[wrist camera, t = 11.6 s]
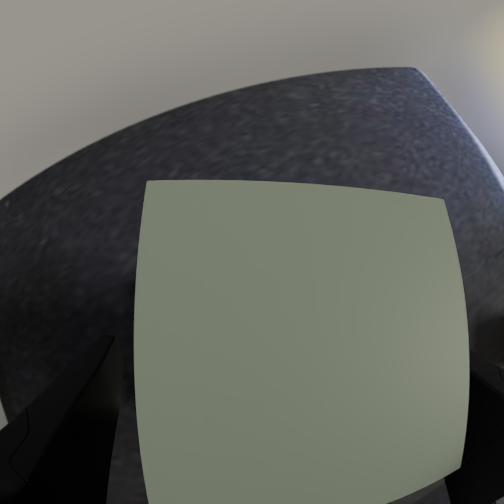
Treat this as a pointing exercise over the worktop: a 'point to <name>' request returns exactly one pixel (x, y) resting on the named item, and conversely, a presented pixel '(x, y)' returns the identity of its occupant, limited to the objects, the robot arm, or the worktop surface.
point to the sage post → (297, 343)
